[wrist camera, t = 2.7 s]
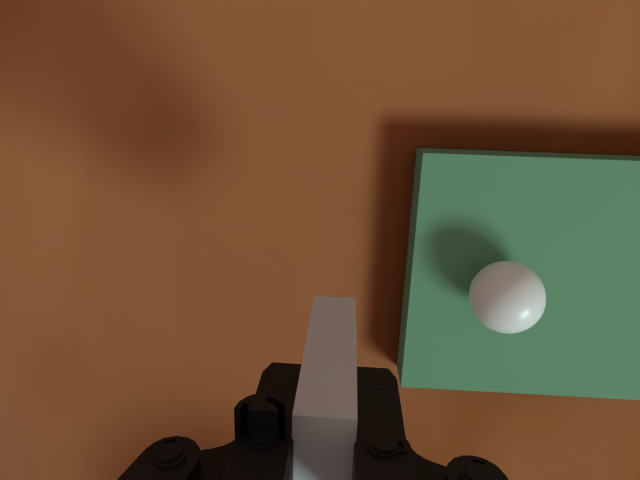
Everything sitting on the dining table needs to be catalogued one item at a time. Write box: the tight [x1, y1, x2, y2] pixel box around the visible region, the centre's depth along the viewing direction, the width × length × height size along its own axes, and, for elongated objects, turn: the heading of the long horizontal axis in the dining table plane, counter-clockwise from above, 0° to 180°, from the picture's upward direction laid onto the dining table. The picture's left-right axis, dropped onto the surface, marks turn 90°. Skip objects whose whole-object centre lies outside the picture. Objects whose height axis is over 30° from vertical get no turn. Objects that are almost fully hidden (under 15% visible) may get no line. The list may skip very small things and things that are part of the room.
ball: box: [469, 261, 546, 334], centre depth 21 cm, size 3×3×3 cm
